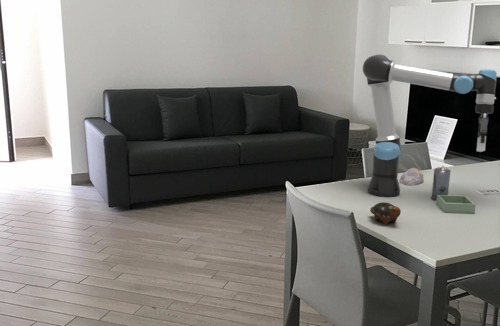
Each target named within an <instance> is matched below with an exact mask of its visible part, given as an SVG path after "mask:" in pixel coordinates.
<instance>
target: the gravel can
mask: <svg viewBox="0 0 500 326" xmlns="http://www.w3.org/2000/svg"><path fill="white" fill-rule="evenodd" d="M450 181H451V169H449V168H448V167H446V166H443V165H442V166H441V167H440V166H438V167H435V168H434V170H433V180H432V189H431V200H432V201H434V202H435V201H436V200H437V195H449V190H450Z"/></svg>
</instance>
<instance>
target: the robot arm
mask: <svg viewBox="0 0 500 326" xmlns="http://www.w3.org/2000/svg"><path fill="white" fill-rule="evenodd" d="M362 72H363V74H364V76H365V77H366V80H367V86H369V88H370V89H371V93H372V94H371V95H372V96H371V97H372V100H373V101H372V102H373V109H374V117H375V124H376V130H377V131H376V132H377V137H376V138H375V145H374V148H373V159H372V173H371V178H370V180H369V183H368V185H367V189H366V190H367V191H366V192H367V193H368V194H370V195H372V196H376V197H384V198H391V197H393V198H394V197H398V196H399V195H400V194H401V188H400V182H399V179H398V173H399V162H400V160H401V159H402V156H403V153H404V151H403V147H402V145H401V138H400V135H398V134H397V133H396V132H397V131H396V125H395V118H394V117H395V116H394V109H393V101H392V93H391V86H390V85H391V84H392V82H393V81H394V82H401V83H405V84H409V85H410V84H411V85H418V86H423V87H428V88H434V89H438V90H444V91H450V92H456V93H458V94H460V95H461V94H462V95H465V94H468V93H469V92H470V91H472V92H476V99H475V103H476V105H475V109H474V111H475V113H477V114H480V115H479V117H478V132H477V141H476V152H479V153H482V152H485V151H486V143H487V134H488V124H489V119H490V118H489V114H490V115H491V114H493V113H494V109H495V108H494V107H495V106H494V104H495V100H497V97H496V88H497V71H496V70H495V69H489V68H488V69H487V68H486V69H485V68H484V69H480V70H479V71H478V73H474V74H473V73H452V72H445V71H440V70H433V69H429V68H424V67H423V68H421V67H417V66H411V65H405V64H400V63H396V62H395V60H391V59H389V58H388V57H387V56H386V55H383V54H381V53H380V54H374V55H371V56H369V57H367V58H366V60H364V62H363V64H362Z"/></svg>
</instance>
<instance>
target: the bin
mask: <svg viewBox="0 0 500 326" xmlns="http://www.w3.org/2000/svg"><path fill="white" fill-rule="evenodd" d="M435 204H436V206H437V207H439V209H441V211H442V212H443V213H445V214H446V213H447V214H448V213H450V214H473V215H474V214H475V213H476V212H475V211H476V203H475V202H474V201H473V200H472V199H470V198H469V197H468V196H467V195H455V194H454V195H453V194H452V195H451V194H450V195H449V194H448V195H437V200H436V202H435Z"/></svg>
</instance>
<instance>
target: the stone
mask: <svg viewBox="0 0 500 326" xmlns="http://www.w3.org/2000/svg"><path fill="white" fill-rule="evenodd" d="M423 183H424V174H423V173H422V171H420V169H418V168H417V167H416V168H415V167H412V168H409V169H407V170H406V171H405V172H403V174H402V175H401V176H400V178H399V184H401V185H404V186H407V187H414V186H415V187H416V186H419V185H421V184H423Z"/></svg>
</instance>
